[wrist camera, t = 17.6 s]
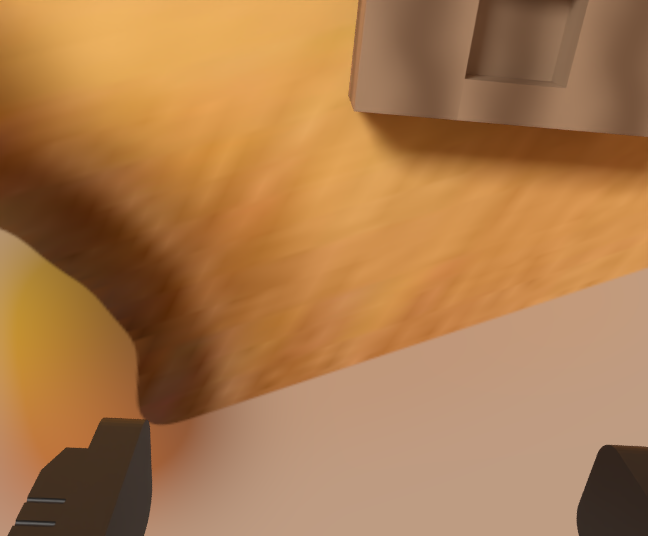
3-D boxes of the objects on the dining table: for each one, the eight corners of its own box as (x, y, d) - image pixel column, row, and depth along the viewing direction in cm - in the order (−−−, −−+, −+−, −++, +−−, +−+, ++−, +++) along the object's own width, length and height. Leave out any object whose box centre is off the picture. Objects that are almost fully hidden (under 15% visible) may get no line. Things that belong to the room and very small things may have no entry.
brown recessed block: (348, 95, 38) (354, 111, 34) (368, -94, 33) (378, -102, 29) (617, 119, 39) (653, 137, 35) (671, -61, 35) (720, -64, 30)
